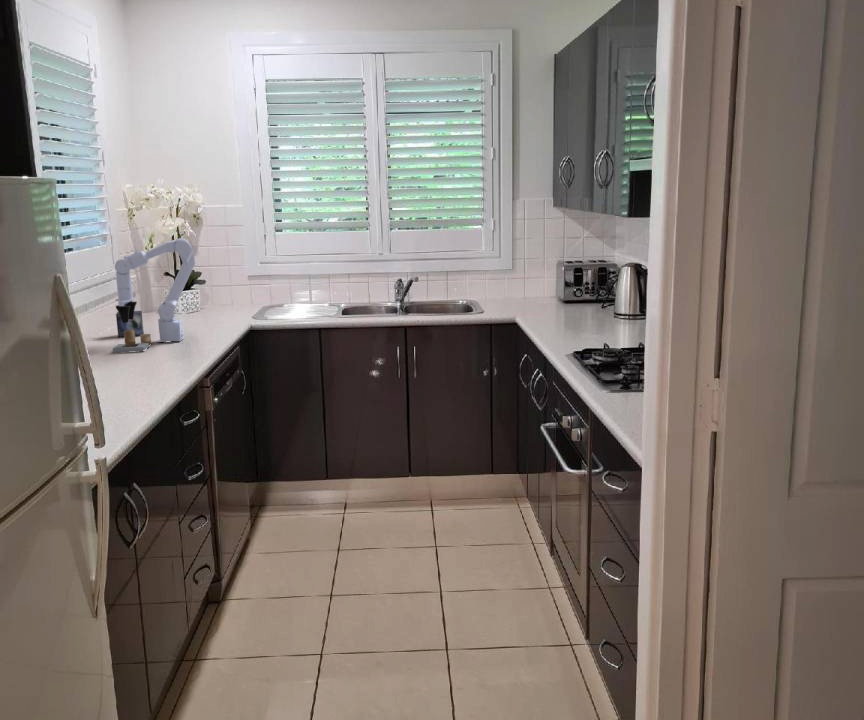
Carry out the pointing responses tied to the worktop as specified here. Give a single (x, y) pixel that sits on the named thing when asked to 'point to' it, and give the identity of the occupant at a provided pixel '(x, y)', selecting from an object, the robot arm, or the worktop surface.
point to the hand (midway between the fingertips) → (128, 320)
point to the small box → (130, 324)
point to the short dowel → (145, 338)
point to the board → (122, 347)
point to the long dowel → (129, 338)
